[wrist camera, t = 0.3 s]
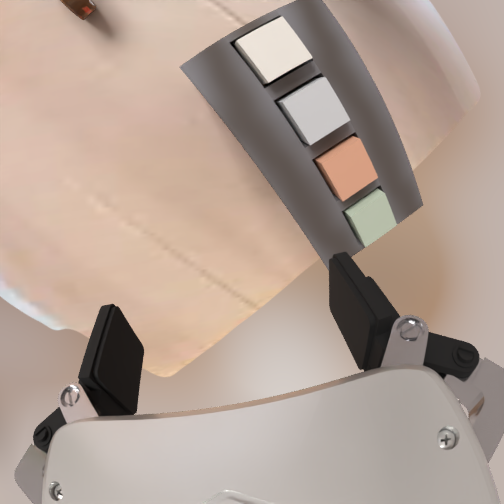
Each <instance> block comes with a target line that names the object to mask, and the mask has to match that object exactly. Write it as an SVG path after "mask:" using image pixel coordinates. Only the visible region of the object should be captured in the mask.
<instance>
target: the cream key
mask: <svg viewBox="0 0 504 504" xmlns="http://www.w3.org/2000/svg"><path fill="white" fill-rule="evenodd" d="M233 47H234V48H235V49H236V51H237V52H238V53H239V54H240V56H241V57H242V58H243V60H244V61H245V62H246V63H247V65H248V66H249V67H250V69H251V70H252V71H253V72H254V74H255V75H256V76H257V78H258V79H259V81H260V82H261V83H262V84H265V83H269V82H271V81H272V80H274V79H276V78H277V77H279V76H281V75H282V74H284V73H286V72H288V71H289V70H291V69H293V68H295V67H296V66H298V65H300V64H302V63H304V62H306V61H307V60H309V59H311V58H313V57H312V56H311V54H310V53H309V51H308V50H307V48H306V47H305V46H304V44H303V43H302V41H301V40H300V39H299V37H298V36H297V34H296V33H295V32H294V30H293V29H292V28H291V27H290V25H289V24H288V23H287V21H286V20H285V19H284V18H283V16H282V17H280V18H278V19H276V20H274V21H272V22H270V23H268V24H266V25H264V26H262V27H260V28H258V29H256V30H254V31H252V32H251V33H249V34H247V35H245V36H243V37H242V38H240V39H238V40H237V41H236V42H235V44H234V46H233Z"/></svg>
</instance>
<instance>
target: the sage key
mask: <svg viewBox="0 0 504 504" xmlns="http://www.w3.org/2000/svg"><path fill="white" fill-rule="evenodd" d="M342 212H343V214H344V216H345V218H346V219H347V221H348V223H349V225H350V227H351V229H352V231H353V233H354V235H355V236H356V237H357V238H358V239H359V241H360V242H361V243H362V244H363V245H364V246H365V247H367V246H369V245H370V244H371V243H373V242H374V241H375V240H377V239H378V238H380V237H381V236H383V235H384V234H385V233H387V232H388V231H390V230H391V229H392V228H393V227H395V226H397V223H396V221H395V218H394V215H393V213H392V210H391V207H390V205H389V202H388V200H387V197H386V195H385V193H384V192H382V191H381V190H379V189H378V188H375V189H374V190H373V191H371V192H370V193H368V194H367V195H365V196H364V197H362V198H361V199H359V200H358V201H357V202H355V203H354V204H352V205H351V206H349V207H348V208H346V209H345V210H343V211H342Z"/></svg>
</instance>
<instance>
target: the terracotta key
mask: <svg viewBox="0 0 504 504" xmlns="http://www.w3.org/2000/svg"><path fill="white" fill-rule="evenodd" d="M313 161H314V163H315V164H316V166H317V168H318V169H319V171H320V173H321V175H322V176H323V178H324V180H325V181H326V183H327V185H328V187H329V188H330V190H331V192H332V193H333V194H335V195H336V196H337V197H338V198H339V199H340V200H341V201H345V200H346V199H347V198H349V197H350V196H352V195H353V194H355V193H356V192H358V191H359V190H361V189H362V188H364V187H365V186H367V185H368V184H369V183H371V182H372V181H374V180H375V179H377V178H378V176H377V173H376V171H375V169H374V167H373V165H372V162H371V160H370V158H369V156H368V154H367V152H366V150H365V148H364V145H363V143H362V141H361V139H360V138H357V137H354V136H351V135H349V136H348V137H346V138H345V139H343V140H342V141H340V142H338V143H337V144H335V145H334V146H332V147H331V148H329V149H328V150H326V151H325V152H323V153H321V154H320V155H318V156H317V157H315V158H314V159H313Z"/></svg>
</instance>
